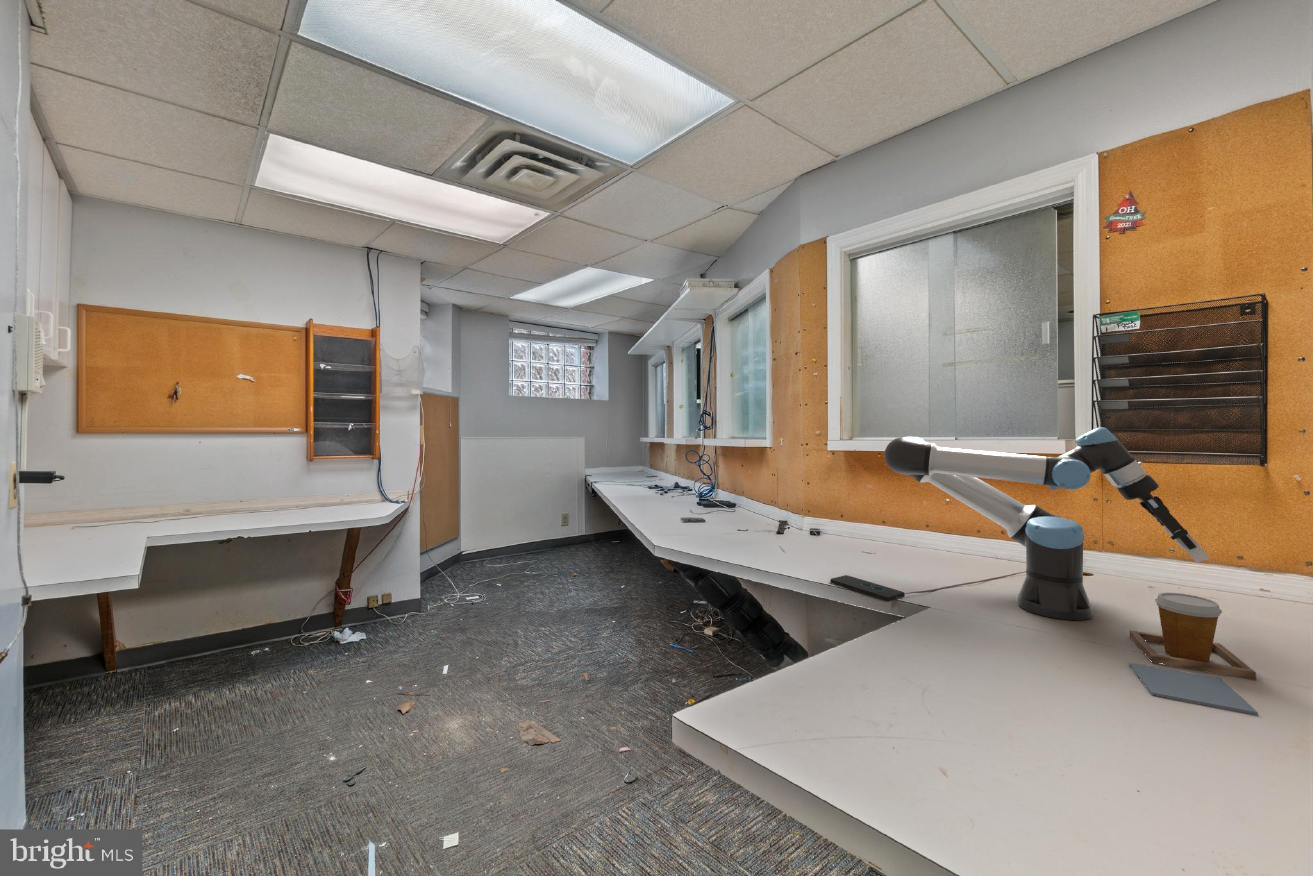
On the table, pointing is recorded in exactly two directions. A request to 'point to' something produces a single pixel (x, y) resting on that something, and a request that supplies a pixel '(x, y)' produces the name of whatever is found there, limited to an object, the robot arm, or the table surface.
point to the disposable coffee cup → (1188, 625)
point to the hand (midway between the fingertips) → (1195, 553)
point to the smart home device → (867, 588)
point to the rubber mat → (1191, 688)
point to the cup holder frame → (1234, 670)
